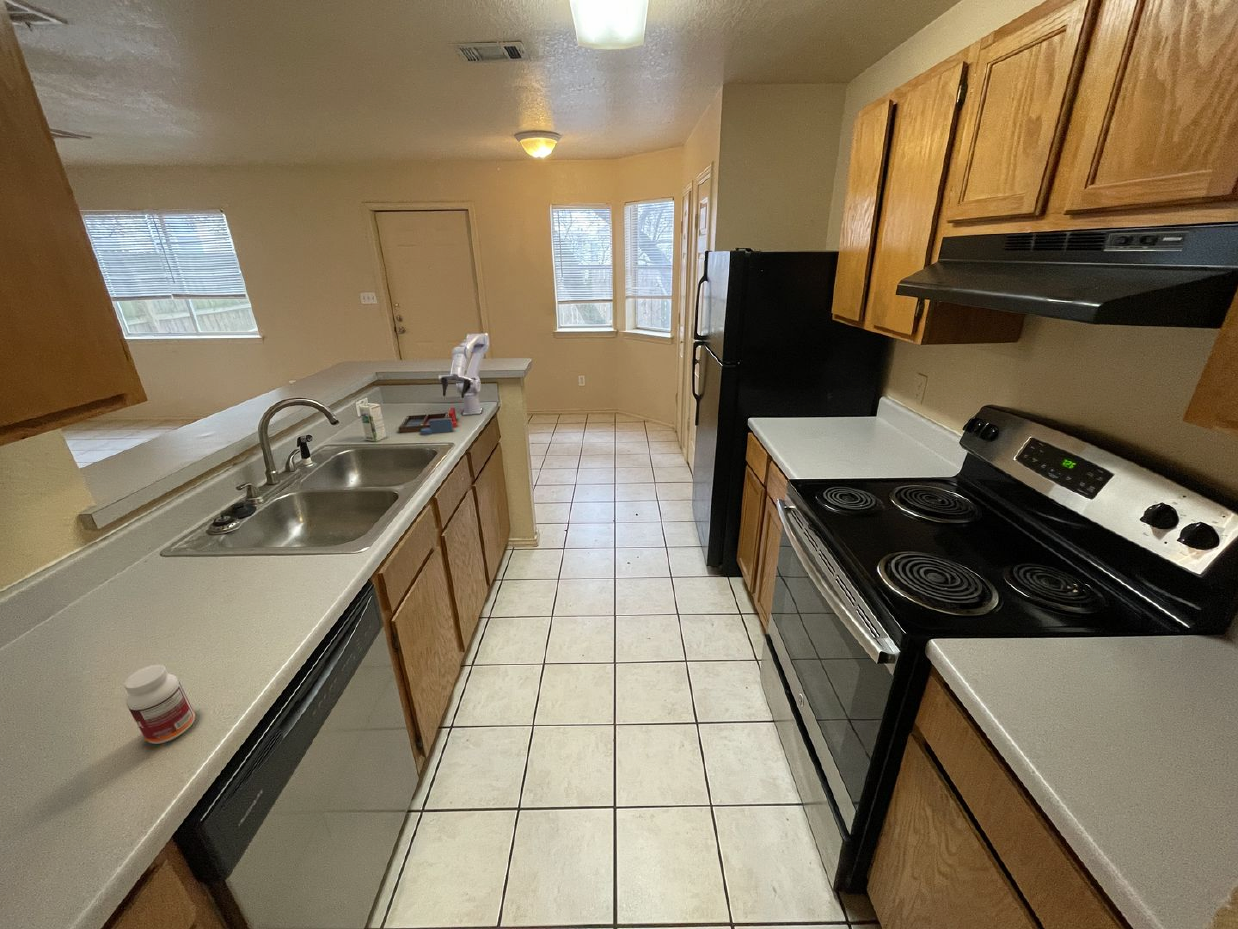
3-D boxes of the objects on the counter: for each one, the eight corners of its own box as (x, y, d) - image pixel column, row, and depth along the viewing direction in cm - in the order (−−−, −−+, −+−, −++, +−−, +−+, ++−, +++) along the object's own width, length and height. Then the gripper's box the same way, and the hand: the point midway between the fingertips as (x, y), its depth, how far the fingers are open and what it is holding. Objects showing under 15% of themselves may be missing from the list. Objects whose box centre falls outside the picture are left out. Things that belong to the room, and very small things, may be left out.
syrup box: (365, 440, 207) (357, 406, 202) (376, 435, 212) (369, 402, 207) (376, 441, 205) (368, 407, 200) (387, 437, 210) (379, 403, 205)
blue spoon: (453, 429, 217) (451, 417, 215) (452, 432, 213) (450, 420, 211) (422, 432, 215) (420, 419, 213) (420, 435, 211) (418, 422, 209)
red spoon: (449, 419, 231) (447, 407, 228) (459, 419, 231) (457, 407, 229) (445, 428, 219) (443, 416, 217) (456, 427, 219) (454, 415, 217)
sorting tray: (408, 421, 231) (407, 415, 230) (448, 417, 233) (447, 412, 232) (399, 432, 215) (398, 427, 214) (443, 429, 218) (442, 423, 217)
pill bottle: (149, 724, 81) (121, 672, 77) (197, 705, 84) (173, 654, 80) (143, 753, 76) (113, 699, 72) (194, 732, 79) (168, 679, 75)
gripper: (439, 362, 218) (434, 388, 213) (474, 366, 221) (469, 392, 215) (442, 372, 225) (436, 397, 219) (475, 375, 227) (471, 401, 221)
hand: (453, 395), depth 217 cm, fingers open, 7 cm apart
